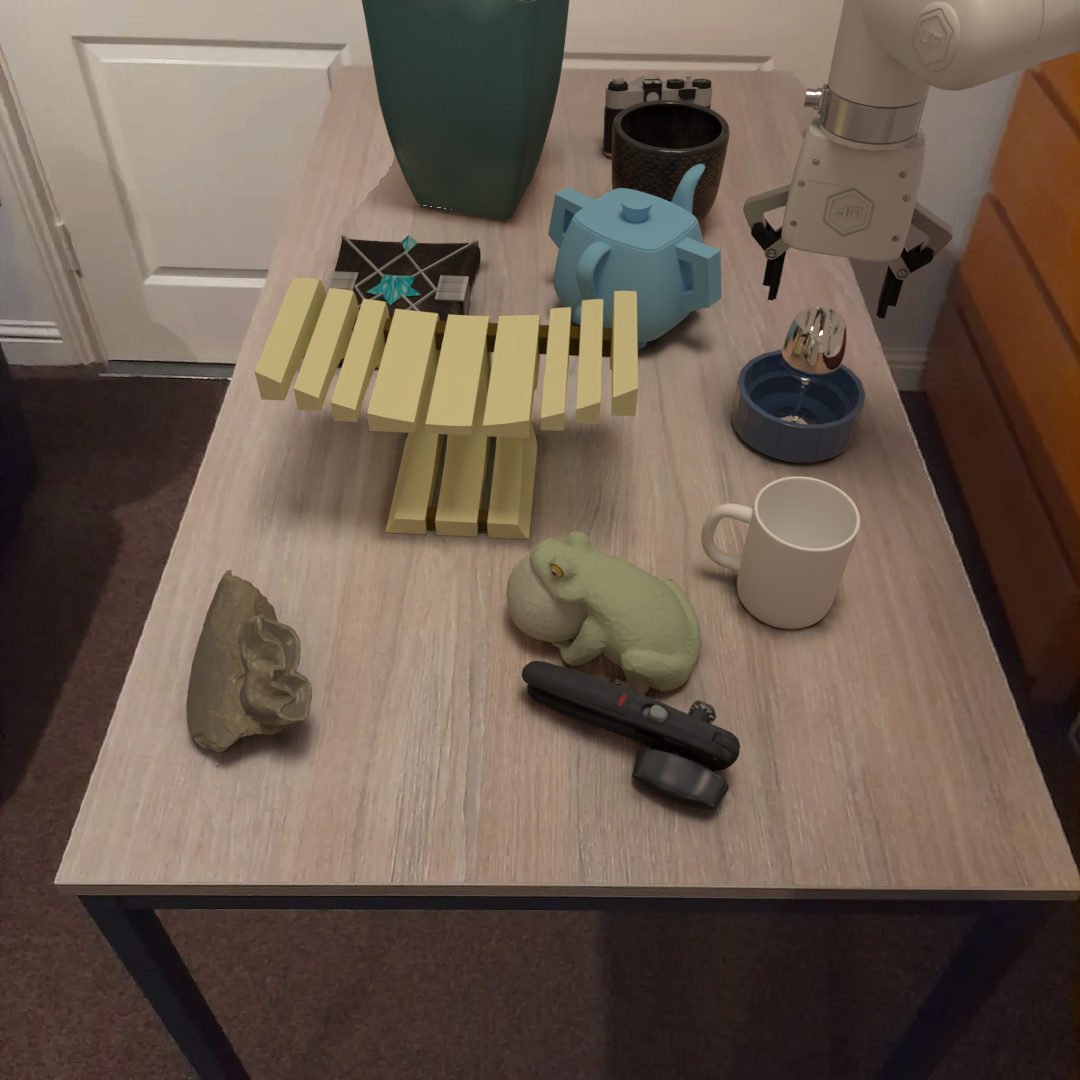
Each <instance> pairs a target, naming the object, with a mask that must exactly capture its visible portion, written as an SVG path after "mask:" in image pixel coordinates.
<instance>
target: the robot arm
mask: <svg viewBox="0 0 1080 1080" xmlns="http://www.w3.org/2000/svg"><path fill="white" fill-rule="evenodd" d="M1076 53H1080V0H843V4H842V9H841V13H840V18H839V24H838V29H837V34H836V38H835V43H834V49H833V54H832V58H831V63H830V69H829V72H828V73H829V74H828V79H827V83H824V84H823V86H822V87H817V88H816V89H815V88H807V89H806V93H805V98H804V103H803V107H804V108H805V107H806V108H812V110H814V111H815V110H816V111H817V115H816V116H814V118H813V119H812V121H811V122H810V124H809V126H808V129H807V130H806V133H805V136H804V138H803V141H802V143H801V146H800V148H799V153H798V156H797V159H796V162H795V166H794V170H793V174H792V179H791V182H790V184H787V185H783V186H780V187H777V188H773V189H770V190H768V191H765V192H761V193H757V194H756V195H752V196H749V197H747V198H746V199H745V201H744V204H743V207H742V211H743V214H744V216H745V219H746V222H747V224H748V227H749V229H750V235H751V237H752V238H753V239H754V240H755V241H756V243H757V244H758V245H759V247H760V248H761V249H762V250H763V252H764V257H765V258H766V265H765V269H764V275H763V281H762V286H765V287H769V290H768V294H767V295H768V296H767V301H773V302H774V300H777V296H778V292H779V289H780V285H781V281H782V275H783V270H784V265H785V260H786V254H787V251H788V250H789V249H791V248H792V249H794V250H798V251H803V252H809V253H814V254H820V255H827V256H832V257H839V258H846V259H853V260H860V261H867V262H874V263H875V262H876V263H887V267H886V268H887V269H886V272H885V275H884V279H883V283H882V286H881V290H880V293H879V296H878V301H877V310H876V317H878V319H881V320H883V319H884V320H885V318H886V316H887V312H888V308H889V307H897V304H898V301H899V297H900V295H901V290H902V287H903V283H904V281H905V280H907V279H908V278H909V277H910V275H911V274H912V273H914V272H916V271H917V270H919V269H921V268H923V267H924V266H925V267H926V265H928V264H930V263H932V261H933V260H934V258H935V256H936V255H937V254H939V253H941V251H942V250H943V249H944V248H946V246H947V245H949V243H951V242H952V240H953V235H954V229H953V226H952V225H950V224H949V223H948V222H946V221H945V220H943V219H941V218H940V217H939V216H937V215H936V214H935V213H933V212H932V211H931V210H929V209H928V208H926V207H924V206H923V205H922V204H921V203H919V202H917V200H918V196H919V195H918V194H919V191H920V187H921V186H920V185H921V181H922V175H923V170H924V162H925V153H926V135H925V132H924V130H923V128H921V126H920V124H921V121H922V117H923V113H924V111H925V110H924V109H925V106H926V102H927V99H928V95H929V91H930V87H934V88H936V89H938V90H943V91H951V92H954V91H955V92H956V91H957V92H958V91H965V90H968V89H973V88H974V87H978V86H981V85H984V84H986V83H989V82H993V81H995V80H997V79H1000V78H1003V77H1006V76H1008V75H1010V74H1012V73H1015V72H1018V71H1020V70H1025V69H1026V68H1031V67H1033V66H1035V65H1038V64H1041V63H1045V62H1047V61H1051V60H1053V59H1056V58H1057V59H1058V58H1059V57H1064V56H1068V55H1071V54H1076ZM782 207H784V208H785V209H784V213H783V214H784V215H783V218H782V219H783V220H782V225H780V226H779V227H778V228H777V229H776V230H775V228H774V227H773V226H772V225H771V224H770V223H769V221H768V220H767V219H766V218H765V213H767V212H770V211H773V210H776V209H779V208H782ZM911 225H912V226H913V227H915V228H917V229H918V230H919V231H921V232H923V233H924V234H925V235H926V236H928V238H927V239H926V240H925V241H923V242H921V243H919V244H918V245H916V246H915V247H913V248H911V249H908V247H907V246H906V242H907V239H908V236H909V232H910V228H911Z"/></svg>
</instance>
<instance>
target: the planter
mask: <svg viewBox="0 0 1080 1080" xmlns="http://www.w3.org/2000/svg"><path fill="white" fill-rule="evenodd" d="M730 133H731V132H730V126H729V124H728V121H727V119H725V118H724V116H723V115H721V114H719V113H718V111H715V110H713V109H712V108H710V109H709V108H707V107H704V106H701V105H698V104H694V103H690V102H684V101H675V100H656V101H647V102H642V103H638V104H635V105H632V106H630V107H627V108H626V109H624V110H622V111H621V112H620V113H619V114H618V115H617V116H616V117H615V119H614V122H613V127H612V156H611V187H612V189H611V190H614V189H617V188H626V189H632V190H637V191H640V192H644V193H647V194H650V195H653V196H656V197H659V198H662V199H664V200H667V201H669V202H671V201H672V199H673V197H674V194H675V192H676V190H677V188H678V186H679V184H680V182H681V180H682V178H683V176H684V175H685V174H686V172H687V171H688V170H689V169H691V168H692V167H693V166H695V165H698V164H703V165H705V170H704V172H703V174H702V175H701V177H700V179H699V181H698V182H697V185H696V188H695V192H694V196H693V206H692V214H693V215H694V216H695V217H696V218H697V220H698V223H699V224H701V222H703V220H705V219H706V218H707V216H708V215H709V214H710V212H711V210H712V208H713V206H714V204H715V202H716V199H717V195H718V192H719V189H720V185H721V179H722V175H723V171H724V168H725V167H724V165H725V161H726V156H727V152H728V145H729V140H730Z"/></svg>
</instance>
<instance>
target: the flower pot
mask: <svg viewBox="0 0 1080 1080" xmlns="http://www.w3.org/2000/svg"><path fill="white" fill-rule="evenodd" d="M361 4H362V9H363V15H364V21H365V27H366V32H367V38H368V43H369V50H370V56H371V61H372V68H373V73H374V74H373V75H374V79H375V87H376V91H377V98H378V103H379V106H380V111H381V115H382V118H383V121H384V125H385V129H386V132H387V135H388V138H389V142H390V145H391V147H392V150H393V153H394V156H395V158H396V160H397V163H398V166H399V168H400V171H401V174H402V176H403V179H404V180H405V182H406V184H407V186H408V188H409V191H410V193H411V195H412V196H413V198H414V200H415V202H416V204H417V203H418V204H417V205H418V207H419V208H421V209H426V210H431V211H438V212H443V213H449V214H457V215H464V216H471V217H476V218H483V219H489V220H490V219H491V220H497V221H503V222H506V221H509V220H511V219H512V217H513V216H514V214H515V212H516V210H517V208H518V206H519V205H520V203H521V201H522V199H523V197H524V195H525V193H526V192H527V190H528V188H529V186H530V184H531V183H532V181H533V178H534V176H535V174H536V171H537V167H538V165H539V162H540V159H541V156H542V153H543V149H544V147H545V144H546V140H547V136H548V134H549V129H550V125H551V121H552V119H553V114H554V111H555V106H556V102H557V97H558V91H559V86H560V82H561V81H560V80H561V75H562V69H563V62H564V54H565V45H566V38H567V27H568V19H569V18H568V17H569V7H570V0H361ZM419 204H420V205H419ZM423 205H427V206H423ZM430 206H432V207H430ZM437 207H441V208H437ZM444 208H446V209H444ZM451 209H452V210H451Z"/></svg>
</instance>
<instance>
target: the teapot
mask: <svg viewBox="0 0 1080 1080" xmlns="http://www.w3.org/2000/svg"><path fill="white" fill-rule="evenodd" d="M704 170H705V165H703V164H698V165H695V166H693V167H692V168H691V169H689V170H688V171H687V172H686V174H685V175H684V176H683V178H682V180H681V182H680V184H679V186H678V188H677V190H676V192H675V194H674V197H673V199H672V201H671V202H669V201H667V200H664V199H662V198H659V197H656V196H653V195H650V194H647V193H644V192H640V191H637V190H632V189H626V188H617V189H614V190H613V189H611V190H610V191H607V192H606V193H604V194H602V195H601V196H599V197H597V198H596V199H594V198H593V197H591V196H588V195H586V194H585V193H582V192H581V191H578V190H575V189H574V188H571V187H570V186H567V187H566V188H564V189H562V190H560V191H559V192H557V193H555V195H554V199H553V206H552V210H551V216H550V220H549V221H550V222H549V227H548V231H547V232H548V233H547V236H548V237H549V238H550V239H551V241H552V242H553V243H554V245H555V246H556V247H557V248H558V254H557V256H556V262H555V266H554V274H553V288H554V292H555V294H556V296H557V298H558V300H559V302H560V304H561V305H562V306H563V308H565V307H571V322H573V323H574V324H575V325H579V326H581V311H582V301H583V300H592V299H603V328H611V325H612V311H613V299H614V291H636V292H637V349H638V350H641V349H643V348H645V347H646V346H647V345H648V342H652V341H654V340H657V339H658V338H660V337H662V336H664V335H665V334H666V333H668V332H670V331H671V330H672V329H674V328H675V327H676V326H678V325H679V324H680V323H681V322H682V321H684V320H685V318H687V317H688V316H689V315H690V314H691V313H692V312H693V311H699V310H703V309H707V308H710V307H712V306H713V305H715V304H716V303H717V302H718V301H720V300H721V299H722V250H721V249H718V248H716V247H713V246H710V245H708V244H705V242H704V238H703V234H702V230H701V226H700V223H698V220H697V218H696V217H695V216H694V215H693V214H692V206H693V196H694V192H695V188H696V185H697V182H698V181H699V179H700V177H701V175H702V174H703V172H704Z"/></svg>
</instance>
